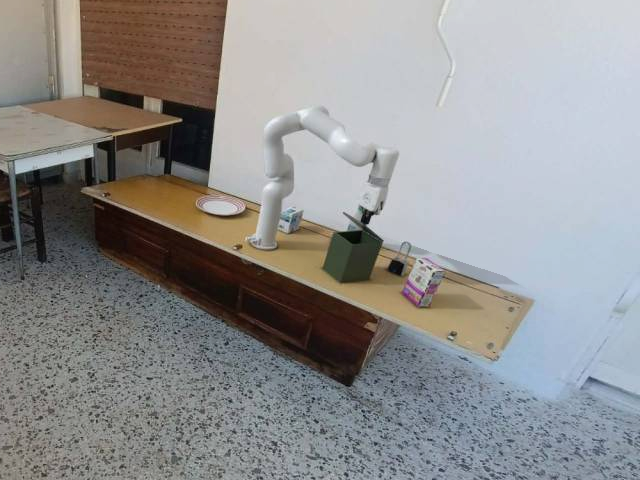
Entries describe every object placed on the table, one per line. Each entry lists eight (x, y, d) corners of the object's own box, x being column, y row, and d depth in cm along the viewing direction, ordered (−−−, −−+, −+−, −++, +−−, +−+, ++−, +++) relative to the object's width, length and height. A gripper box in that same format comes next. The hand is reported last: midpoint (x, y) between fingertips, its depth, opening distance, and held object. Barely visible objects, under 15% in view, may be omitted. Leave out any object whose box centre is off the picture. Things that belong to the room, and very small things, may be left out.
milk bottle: (358, 242, 228) (371, 205, 217) (360, 249, 221) (373, 210, 211) (342, 240, 230) (354, 202, 219) (343, 246, 223) (355, 208, 213)
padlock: (385, 270, 204) (397, 240, 196) (390, 267, 206) (402, 237, 199) (400, 276, 200) (413, 246, 192) (405, 274, 202) (418, 243, 194)
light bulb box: (287, 233, 233) (292, 214, 227) (276, 229, 238) (281, 210, 232) (299, 228, 239) (304, 209, 233) (288, 224, 243) (293, 205, 238)
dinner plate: (234, 223, 242) (235, 217, 240) (187, 211, 254) (188, 205, 252) (251, 207, 262) (252, 202, 260) (207, 197, 274) (207, 191, 272)
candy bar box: (429, 307, 179) (446, 271, 171) (417, 307, 179) (434, 271, 170) (412, 292, 189) (427, 257, 180) (401, 292, 188) (415, 257, 180)
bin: (340, 282, 193) (352, 245, 184) (322, 268, 203) (333, 232, 194) (369, 279, 197) (383, 242, 187) (350, 265, 207) (362, 229, 197)
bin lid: (362, 225, 180) (364, 223, 179) (342, 213, 190) (343, 211, 190) (382, 242, 187) (384, 240, 187) (362, 229, 197) (363, 228, 197)
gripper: (357, 175, 183) (344, 217, 193) (384, 187, 171) (368, 232, 181) (373, 174, 185) (359, 216, 195) (400, 186, 173) (384, 230, 182)
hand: (364, 223), depth 188 cm, fingers closed
